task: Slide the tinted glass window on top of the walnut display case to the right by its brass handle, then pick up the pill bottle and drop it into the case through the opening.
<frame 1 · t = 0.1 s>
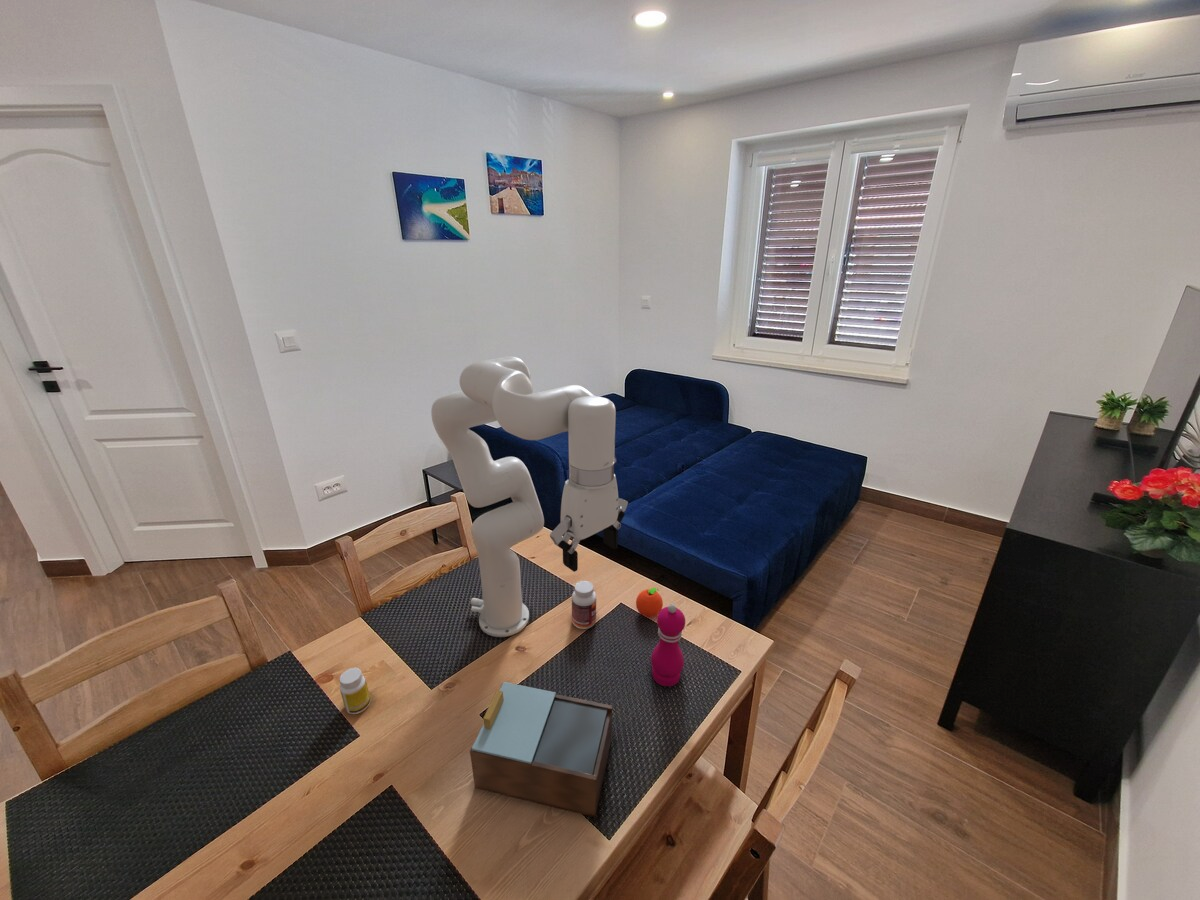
hand: (590, 556, 87), 37 cm above the table, tool pointing down, fingers open, 9 cm apart
pepper mill: (665, 675, 109), on the table
clementine: (649, 613, 127), on the table
display case: (546, 763, 90), on the table
glass pane: (515, 714, 87), point 11 cm above the table, slide at 0.0 cm
supplement bottle: (358, 705, 101), on the table
pill bottle: (584, 621, 124), on the table
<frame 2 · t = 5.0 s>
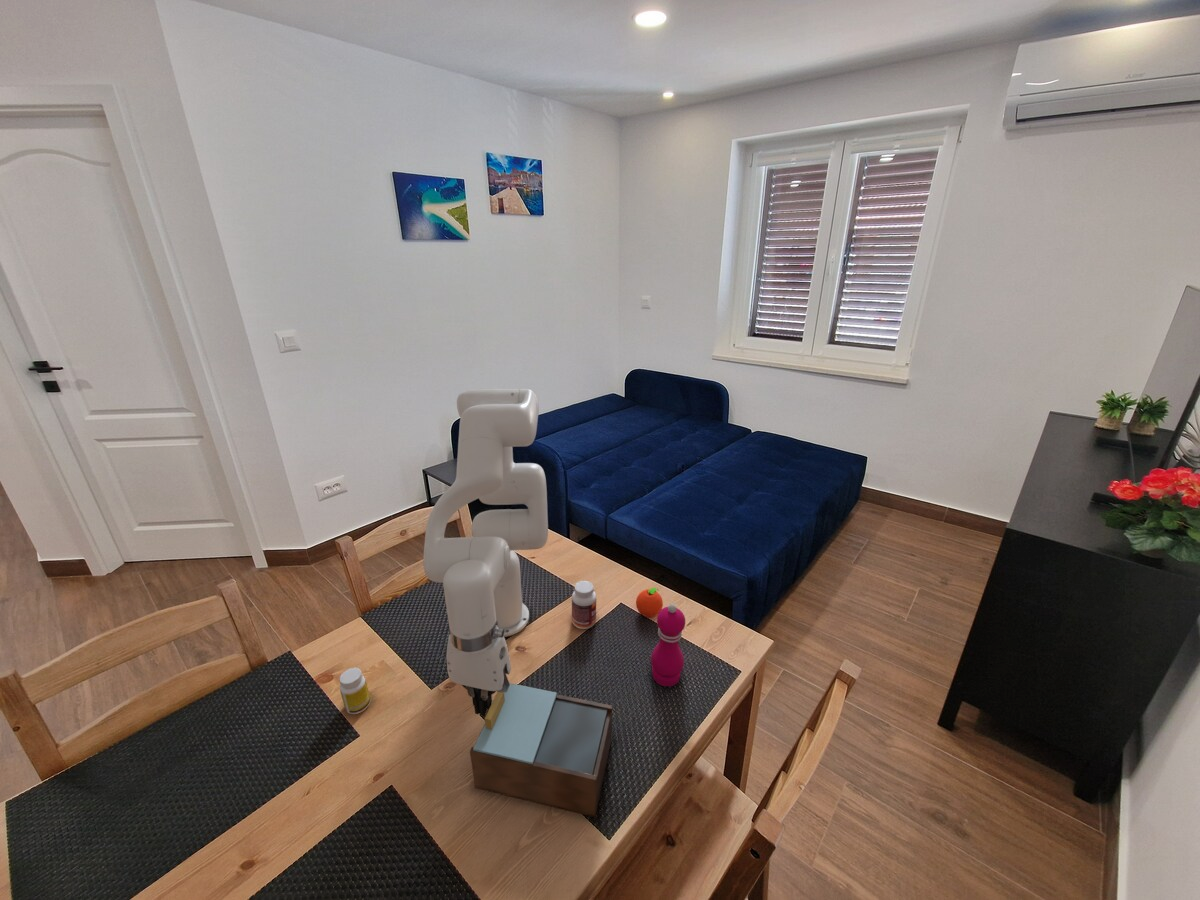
hand: (483, 707, 88), 12 cm above the table, tool pointing down, fingers closed
glass pane: (517, 715, 87), point 12 cm above the table, slide at 0.2 cm, touching gripper
everything else where it was.
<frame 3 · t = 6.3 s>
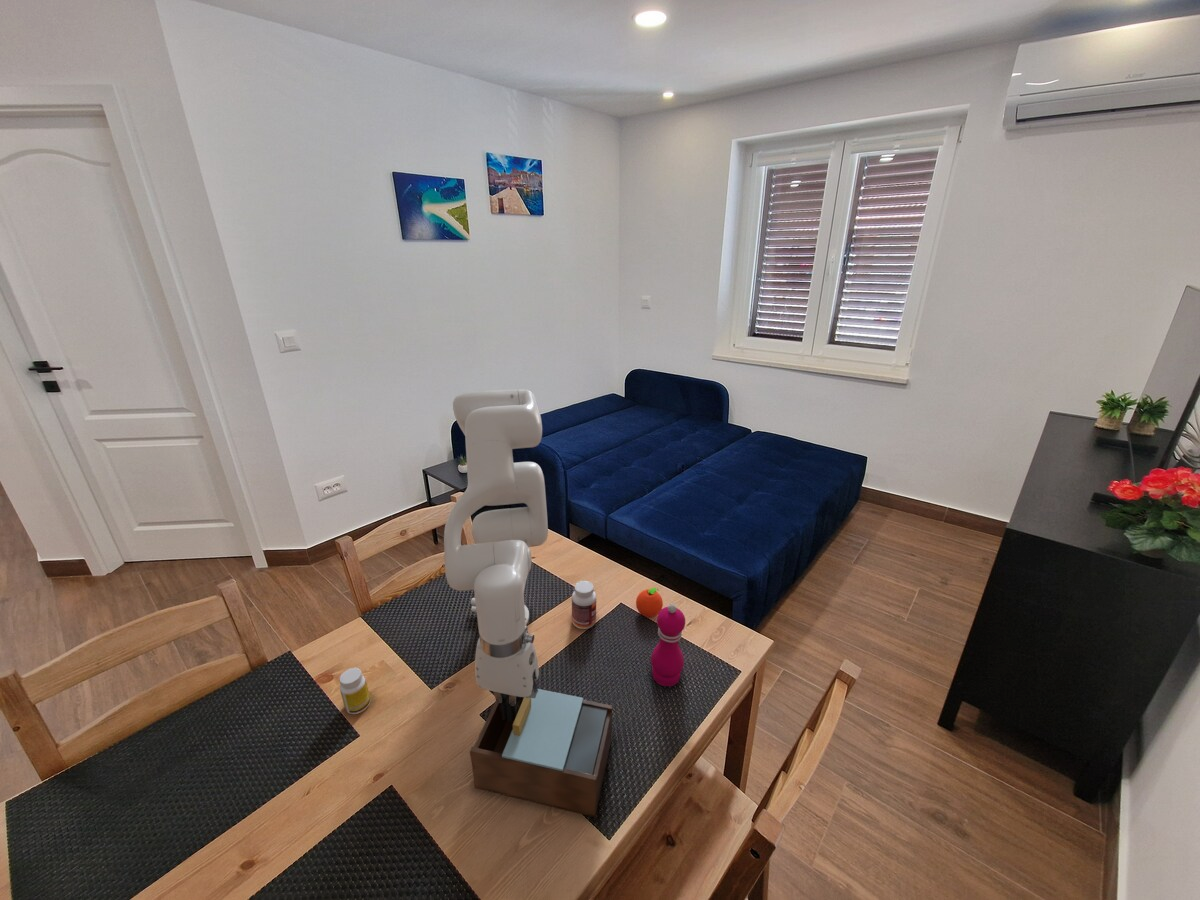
hand: (510, 713, 87), 12 cm above the table, tool pointing down, fingers closed
glass pane: (544, 721, 86), point 12 cm above the table, slide at 5.4 cm, touching gripper
everything else where it was.
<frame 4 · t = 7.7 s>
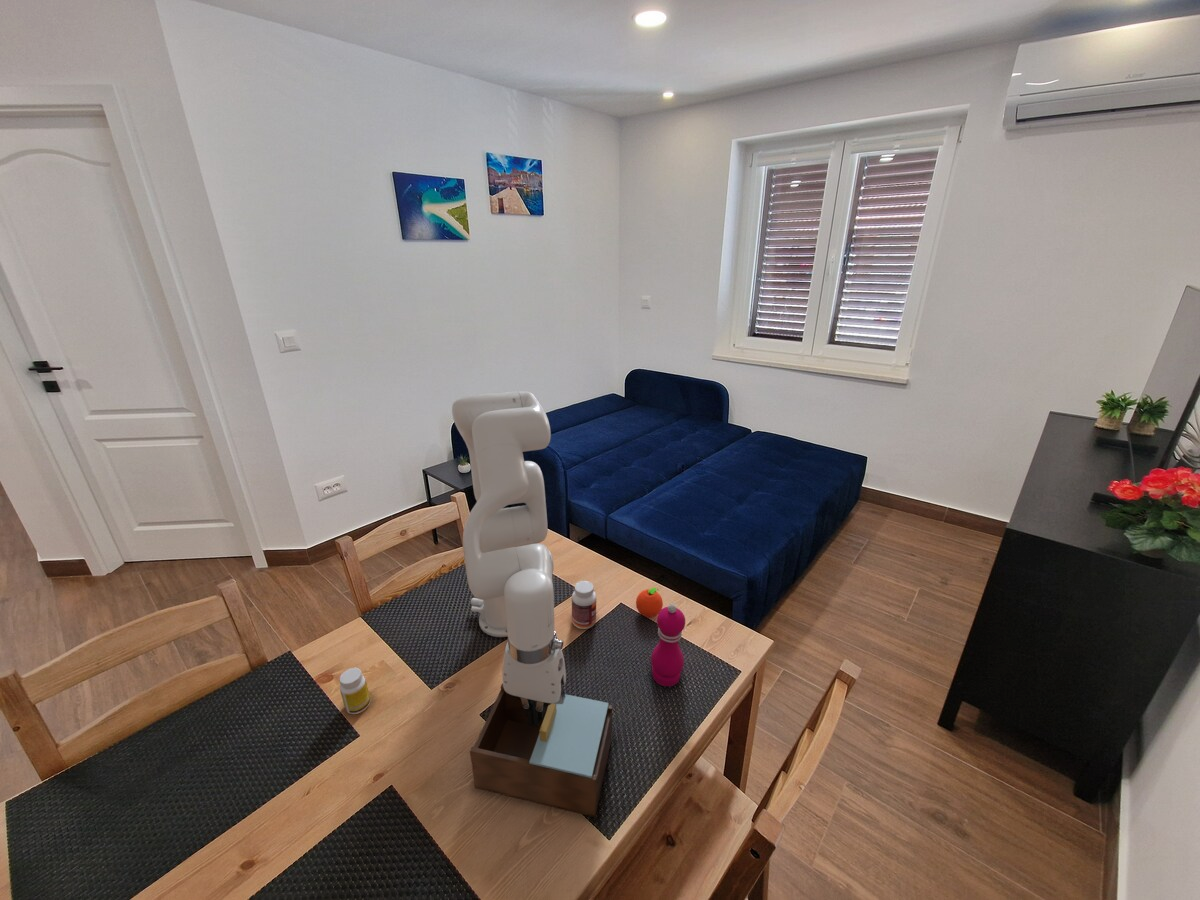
hand: (536, 719, 86), 12 cm above the table, tool pointing down, fingers closed
glass pane: (571, 726, 85), point 12 cm above the table, slide at 10.3 cm, touching gripper
everything else where it was.
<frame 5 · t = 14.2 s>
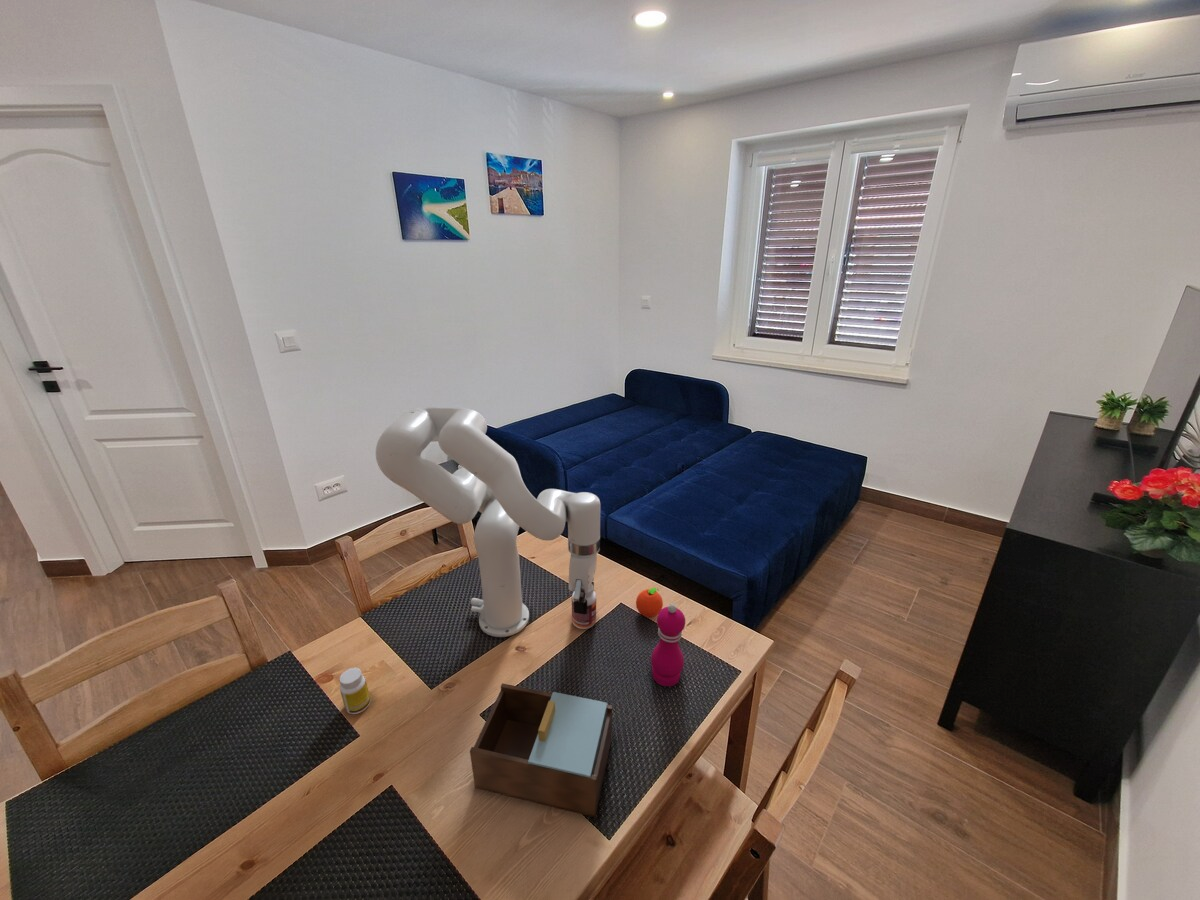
hand: (584, 602, 121), 6 cm above the table, tool pointing down, fingers closed on pill bottle, 6 cm apart
glass pane: (570, 726, 85), point 11 cm above the table, slide at 10.0 cm
pill bottle: (584, 621, 124), on the table, touching gripper
everything else where it was.
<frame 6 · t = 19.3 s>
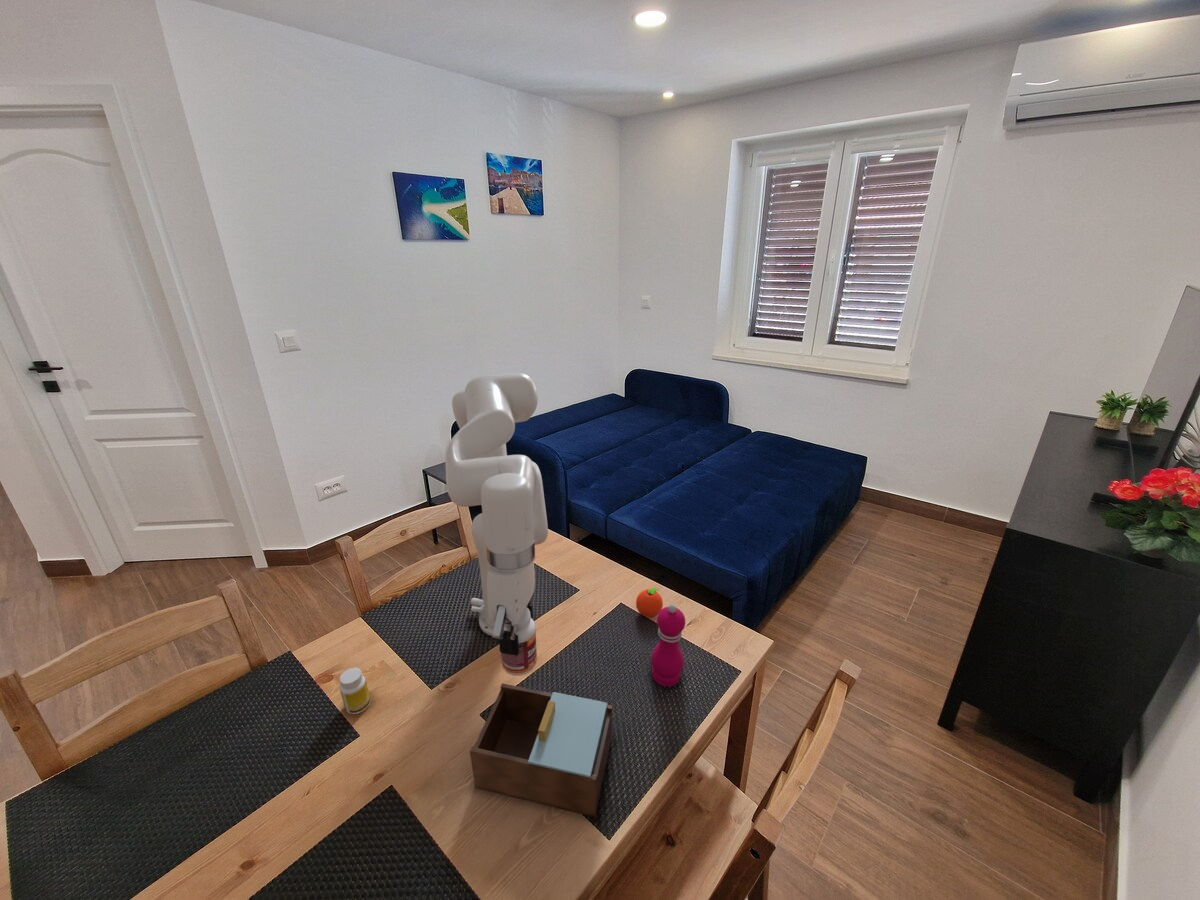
hand: (517, 636, 83), 27 cm above the table, tool pointing down, fingers closed on pill bottle, 6 cm apart
pill bottle: (519, 663, 85), point 21 cm above the table, touching gripper
everything else where it was.
when the fingers open (7 cm above the table, at t = 24.5 s): pill bottle stays where it is, resting on display case.
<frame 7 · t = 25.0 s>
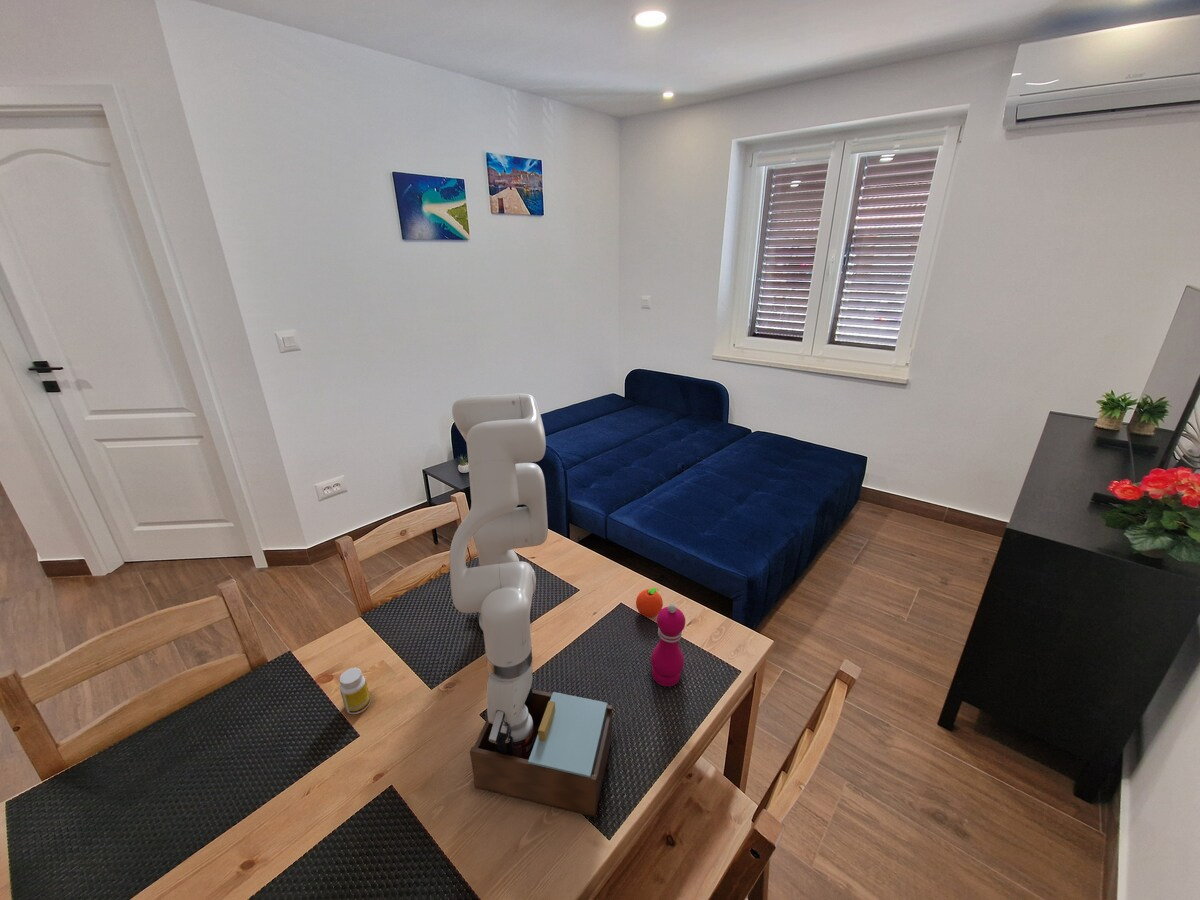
hand: (515, 726, 88), 8 cm above the table, tool pointing down, fingers open, 9 cm apart
pill bottle: (518, 754, 91), point 1 cm above the table, touching display case
everything else where it was.
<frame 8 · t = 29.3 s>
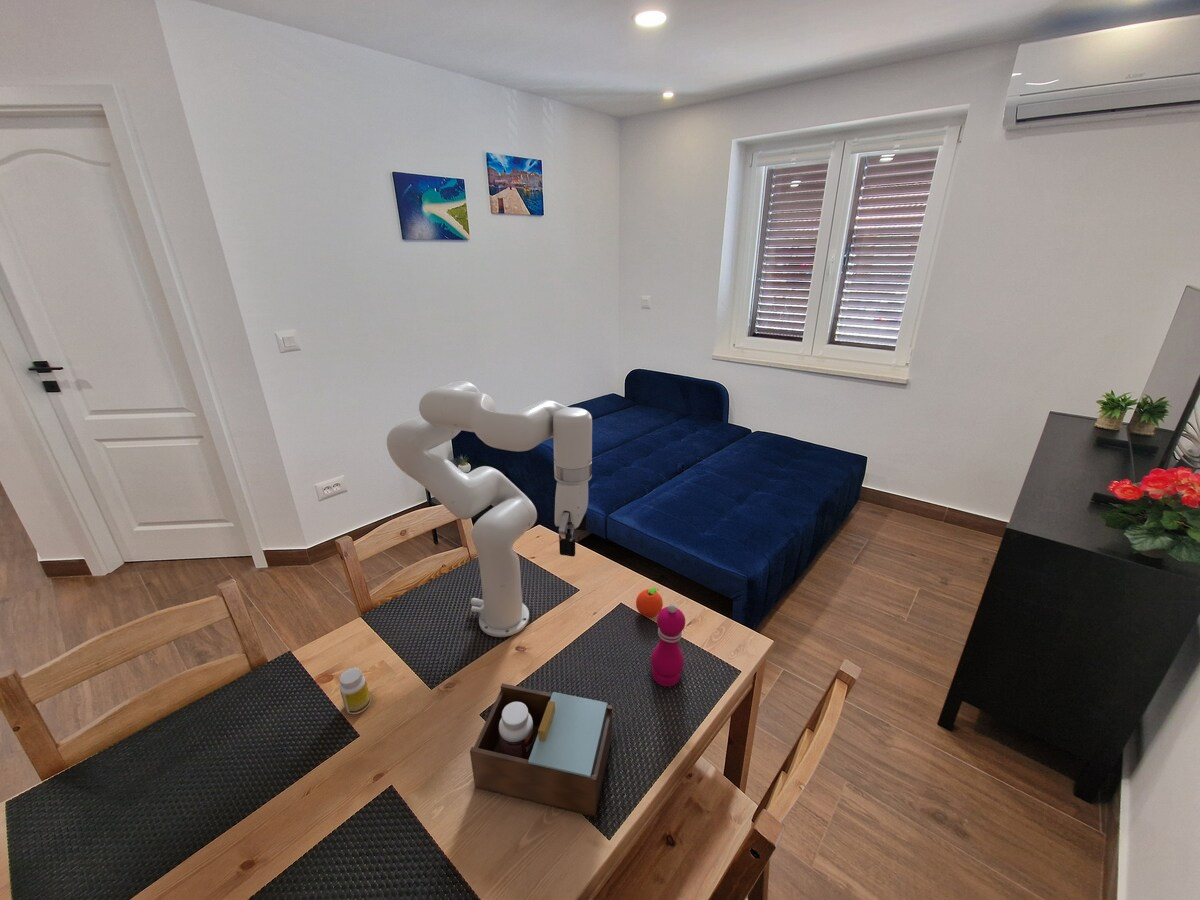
hand: (573, 541, 103), 30 cm above the table, tool pointing down, fingers open, 9 cm apart
nothing on the table moved.
at the end: glass pane slide at 10.0 cm; pill bottle inside the target area on the display case (0.5 cm from its centre), point 0.6 cm above the display case's base; pill bottle tilted 0° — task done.
